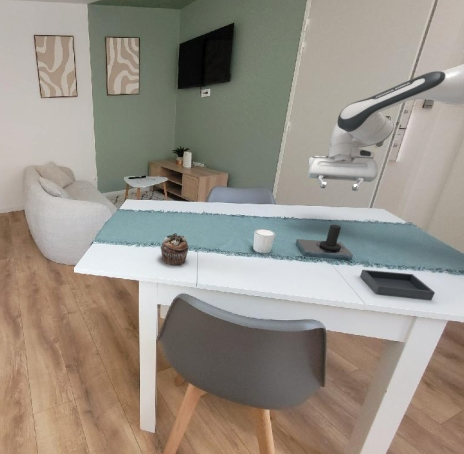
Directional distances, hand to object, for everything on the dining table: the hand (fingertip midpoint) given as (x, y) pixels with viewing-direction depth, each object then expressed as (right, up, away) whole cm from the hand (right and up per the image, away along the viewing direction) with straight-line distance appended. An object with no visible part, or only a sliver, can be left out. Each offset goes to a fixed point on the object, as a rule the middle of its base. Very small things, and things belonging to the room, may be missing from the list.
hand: (338, 188), depth 106 cm
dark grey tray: (-2, -31, -22) cm, 39 cm away
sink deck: (-7, -23, -1) cm, 24 cm away
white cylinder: (-27, -23, +2) cm, 35 cm away
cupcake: (-61, -26, -1) cm, 66 cm away
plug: (-5, -23, -2) cm, 24 cm away
